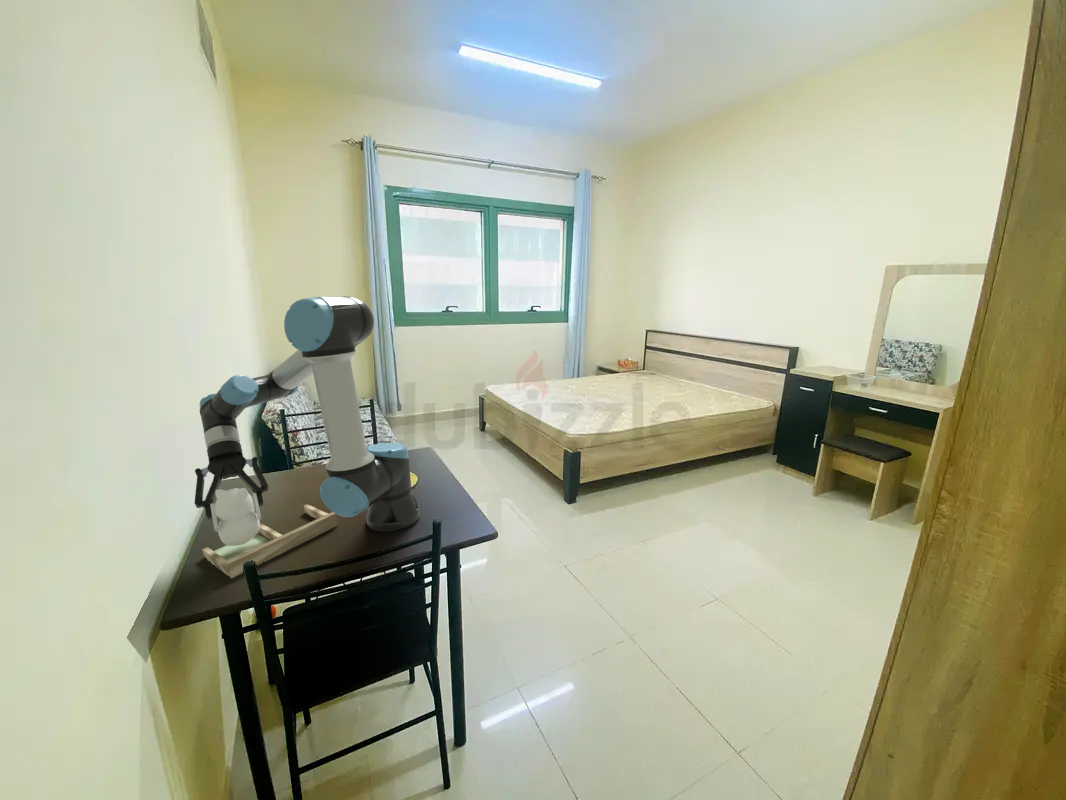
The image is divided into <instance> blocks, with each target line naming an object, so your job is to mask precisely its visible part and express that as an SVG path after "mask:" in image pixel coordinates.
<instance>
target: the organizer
mask: <svg viewBox="0 0 1066 800" xmlns="http://www.w3.org/2000/svg"><path fill="white" fill-rule="evenodd" d="M303 511H304V512H303V513H304V514H306V513H307V514H306V515H308V514H309V515H308V516H310V517H312V518H314V520H312V521H310V522H308V523H306V524H304V525H301V526H299V527H297V528H295V529H293V530H291V531H289V532H286V533H285V534H281V533H279V532H278V531H276V530H274V529H272V528H270V527H269V526H267V525H265V524H263V523H260V530H259V532H258V533H257V534H256V535H255V536H254V537H253V538H252V539H251V540H250V541H248V542H247V543H245V544H242V545H236V546H228V545H224V546H222V547H220V548H218V549H215V550H213V549H212V548H210V547H209V546H206V547H204V548H202V549H201V550H202V553H203V558H204V557H205V558H206V559H207V560H206V559H205V558H204V559H205V560H206V561H208V562H209V561H210V562H211V563H210V562H209V563H210V564H212V565H213V566H214V565H215V567H216V568H217V569H218V570H220V571H221V572H222V573H224V574H225V575H226V576H228V577H229V578H230V579H233V578H236V577H237V576H240V575H242V574H243V564H244V563H245V562H247V561H251V560H253V561H255V562H256V564H257V566H256V567H258V566H260V565H262V564H263V562H264V563H266V562H268V561H270V560H272V559H273V558H275V557H277V556H280V555H282V554H283V553H286V552H287V551H290V550H292V549H294V548H296V547H297V546H300V545H302V544H303V543H306V542H308V541H310V540H311V539H314V538H316V537H318V536H319V535H322V534H324V533H325V532H328V531H329V530H332V529H333V528H336V527H338V526H339V524H338V523H339V522H338V517H337V516H338V515H337V514H335V513H334V512H333V511H331V512H330V513H328V512H325V511H323V510H322V509H318V508H316V507H314V506H312V505H310V504H308V503H306V504H304V505H303Z"/></svg>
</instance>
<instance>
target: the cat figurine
mask: <svg viewBox="0 0 1066 800" xmlns="http://www.w3.org/2000/svg"><path fill="white" fill-rule="evenodd" d="M215 498H216V500H215V503H214V505H215V513H216V515H217V519H218V518H219V519H220V521H219V523H218V527H219V531H217V533H218V537H219V538H220V541H221V542H222V543H223V544H224V546H226V545H228V546H236V545H242V544H245V543H247V542H248V541H250V540H251V539H252V538H253V537H254V536H255V535H256V534H259V530H260V524H261V523H260V522H261V521H260V520H258V517H257V513H256V511H255V503H254V498H253V496H252V495H251V494H250V493H249V492H248V490H247V489H246V488H245V487H242V488H240V487H239V488H236V487H234V488H229V489H226V490H225V489H220V488H218V490H216V491H215Z"/></svg>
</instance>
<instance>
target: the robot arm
mask: <svg viewBox="0 0 1066 800" xmlns="http://www.w3.org/2000/svg"><path fill="white" fill-rule="evenodd" d="M283 324H284V325H283V327H284V328H283V329H284V333H285V337H286V339H287V341H288V342H289V343H291V345H292V347H294V349H296V351H295V352H293V353H292V354H291V355H290V356H289V357H288V358H286V359H285V360H284V361H283V362H282V363H280V364H279V365H277V366H276V367H275V368H274V369H273V370H272V371H270V372H269V373H268V374H266V375H261V376H256V377H253V378H252V377H250V376H248V375H242V374H237V375H233V376H231V377H230V378H228V379H227V380H226V381H225V382H224V383H223V385H221V386H220V389H219V390H218V391H217V392H216V393H210V394H207V396H204V397H202V398H201V399H200V401H199V415H200V419H201V423H202V429H203V434H204V435H203V436H204V442H205V447H206V452H207V453H206V454H207V458H208V464H207V467H204V468H203V467H202V468H199V467H198V468H196V469H195V470H194V472H195V476H196V484H195V485H196V486H195V493H194V495H195V496H194V505H195V507H196V508H197V509H199V508H203V509H204V510H205V517H206V519H207V520H212V523H213V524H212V525H213V529H214V531H215V533H216V532H217V533H218V531H219V527H218V525H219V523H218V517H217V515H216V513H215V503H214V500H215V498H216V495H215V491H216V490H218V489H219V487H220V485H221V483H222V481H223V480H226V479H229V478H236V477H238V478H239V479H240V480H242V481H243V483H244V484H246V486H247V487H248V488H249V489H250V491H252V499H253V503H254V509H255V513H256V514H257V517H258V520H259V521H260V520H262V515H261V510H260V507H262V506H264V499H263V498H264V497H263V493H265V492H266V493H267V492H268V491H269V484H268V482H267V480H266V478H265V477H264V475H263V473H262V470H261V469H260V466H259V460H258V459H259V458H258V457H257V456H253V457H252V458H245V457H244V454H243V449H242V444H241V439H240V436H239V430H238V426H237V418H239V416H240V415H241V413H242V412H244V410H245V409H247V408H249V407H253V406H258V405H260V404H264V403H268V402H271V401H274V400H279V399H285V398H287V397H289V396H291V395H294V394H295V393H296V392H297V391H298V389H299V385H300V384H302V383H303V382H305V381H306V380H307V379H308V378H310V377H311V376H312V375H313V379H314V382H315V386H316V392H317V397H318V398H317V399H318V402H319V407H320V412H321V416H322V423H323V426H324V431H325V436H326V440H327V446H328V451H329V456H330V459H329V460H328V461H327V462H326V464H325V469H326V475H327V478H325V479H323V481H322V482H321V484H320V487H319V494H320V498H321V500H322V502H323V503H324V505H325V506H326V507H327V509H329V510H330V511H331V512H334V513H335V514H336V516H340V517H344V518H351V517H356V516H358V515H359V514H360V513H362V512H365V511H367V513H366V516H365V517H366V525H367V527H368V528H369V529H370V530H372V531H375V532H381V533H386V532H387V533H388V532H389V533H391V532H397V531H400V530H403V529H406V528H408V527H410V526H412V525H414V524H415V523H417V521H418V520H419V519H420V517H421V511H420V504H419V503H418V501H417V499H416V497H415V495H414V492H413V491H412V480H411V468H410V456H409V450H408V448H407V446H405V445H404V444H402V443H394V442H386V443H385V442H384V443H383V442H382V443H376V444H375V443H374V444H371V445H369V446H367V443H366V437H365V433H364V427H363V421H362V416H361V410H360V405H359V400H358V399H359V398H358V395H357V389H356V383H355V378H354V373H353V367H352V361H351V360H352V357H353V356H354V355H355V353H356V347H358V345H360V344H362V343H363V342H364V341H365V340H367V339H368V338H369V337H370V336H371V334H372V333H373V330H374V327H375V318H374V315H373V312H372V310H371V308H370V307H369V306H368V305H367V304H366V303H365V302H364V301H362V300H360V299H359V298H357V297H352V296H313V297H306V298H300V299H299V300H296V301H294V302H293V303H292V304H291V305H290V306H289V309H288V310H287V311H286V313H285V316H284V321H283ZM246 465H248V466H249V467H250V468H252V469H253V470H252V471H253V472H254V473H255V476H256V479H257V481H258V482H259V483H258V484H260V487H259V486H258V485H257V483H256V482H255V481H254V480H253V479H252V478H251V477H250V476H249V475H248V474H247V473H246V472H245V470H244V468H245V466H246ZM208 473H211V474H212V475H213V480H212V482H211V484H210V487H209V490H208V492H207V494H206V496H205V499H203V498H204V489H205V477H207V475H208ZM254 473H253V474H254Z"/></svg>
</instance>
